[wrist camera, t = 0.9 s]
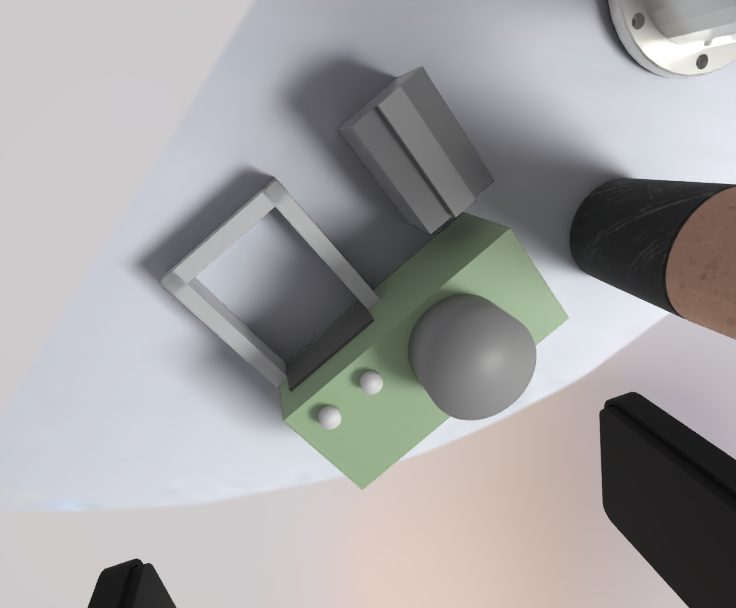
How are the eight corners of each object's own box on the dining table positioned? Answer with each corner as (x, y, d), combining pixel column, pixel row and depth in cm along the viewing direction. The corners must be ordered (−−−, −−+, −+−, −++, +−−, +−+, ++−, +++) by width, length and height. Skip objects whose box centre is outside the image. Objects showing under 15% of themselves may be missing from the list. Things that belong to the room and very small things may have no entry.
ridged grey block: (396, 77, 27) (425, 64, 22) (460, 175, 30) (498, 181, 25) (336, 129, 27) (353, 126, 23) (406, 221, 30) (433, 236, 25)
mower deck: (377, 87, 27) (432, 63, 18) (516, 288, 33) (604, 337, 25) (165, 273, 27) (127, 330, 19) (342, 435, 34) (370, 530, 26)
